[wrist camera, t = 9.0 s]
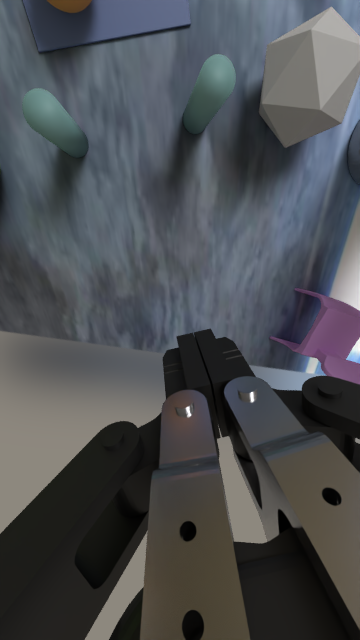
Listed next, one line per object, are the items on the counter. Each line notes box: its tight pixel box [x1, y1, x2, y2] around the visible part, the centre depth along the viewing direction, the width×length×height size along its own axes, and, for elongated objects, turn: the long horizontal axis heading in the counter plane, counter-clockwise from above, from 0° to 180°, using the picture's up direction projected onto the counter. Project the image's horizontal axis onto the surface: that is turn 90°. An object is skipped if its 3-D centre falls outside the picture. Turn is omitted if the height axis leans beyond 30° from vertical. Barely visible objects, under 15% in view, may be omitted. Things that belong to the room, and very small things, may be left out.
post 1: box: [22, 88, 88, 158], centre depth 22 cm, size 3×3×9 cm
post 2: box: [183, 54, 236, 134], centre depth 22 cm, size 3×3×9 cm
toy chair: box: [269, 288, 360, 384], centre depth 31 cm, size 8×9×15 cm
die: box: [259, 7, 360, 148], centre depth 23 cm, size 8×9×10 cm
